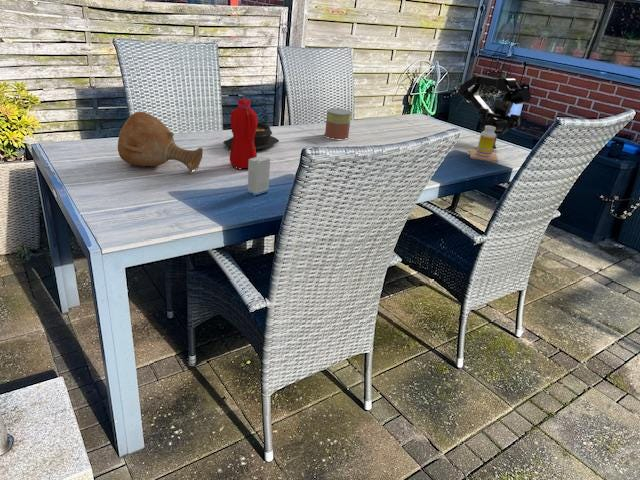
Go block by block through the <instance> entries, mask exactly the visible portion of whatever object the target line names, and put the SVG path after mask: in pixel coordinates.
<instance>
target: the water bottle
mask: <svg viewBox="0 0 640 480" xmlns="http://www.w3.org/2000/svg"><path fill="white" fill-rule="evenodd" d="M237 100H238V101H237V107H236V108H234V109H233V110H232V111H231V112H230V119H229V120H230V126H231V132H232V131H233V133H232V137H233V143H232V147H230V151H229V163H230V165H231V164H232V165H233V166H234V167H237V168H248V164H249V159H251V158H255V157H258V155H257V149H255V144H254V136H255V132H256V128H257V125H258V123H259V122H258V115H257V113H256V111H254V110H253V109H252V108H251V99H248V98H240V99H237ZM232 165H231V166H232ZM233 166H232V167H233ZM234 167H233V168H234Z"/></svg>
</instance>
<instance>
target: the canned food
mask: <svg viewBox="0 0 640 480" xmlns="http://www.w3.org/2000/svg"><path fill="white" fill-rule="evenodd" d="M351 116H352V112H351V111H350V110H349V109H343V108H337V107H336V108H334V107H332V108H327V109H326V119H325V120H326V121H325V129H324V130H325V132H324V137H325V136H326V137H329V138H334V139H345V138H348V139H349V134H350V125H351ZM326 137H325V138H326Z"/></svg>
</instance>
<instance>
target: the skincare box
mask: <svg viewBox="0 0 640 480" xmlns="http://www.w3.org/2000/svg"><path fill="white" fill-rule="evenodd" d="M270 166H271V158H269V157H266V156H263V155H260V156H257V157H255V158H251V159H249V164H248V170H247V171H248V174H247V181H248V182H247V191H248V190H249V191H251V192H254V193H259V192H262V191H265V190H268V189H270Z"/></svg>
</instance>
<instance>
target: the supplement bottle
mask: <svg viewBox="0 0 640 480" xmlns="http://www.w3.org/2000/svg"><path fill="white" fill-rule="evenodd" d="M495 130H496V127H494V126H489V125H486V126H485V131H483V132H482V131H481V132H480V136H479V140H478V143H477V148H476V150H477V154H478V155H481V156H491V154H492V152H493V149H494V148H493V146H494V142H495V138H496V134H495V133H494V131H495Z"/></svg>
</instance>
